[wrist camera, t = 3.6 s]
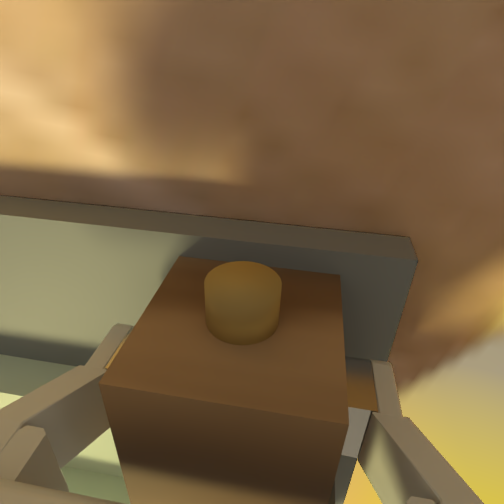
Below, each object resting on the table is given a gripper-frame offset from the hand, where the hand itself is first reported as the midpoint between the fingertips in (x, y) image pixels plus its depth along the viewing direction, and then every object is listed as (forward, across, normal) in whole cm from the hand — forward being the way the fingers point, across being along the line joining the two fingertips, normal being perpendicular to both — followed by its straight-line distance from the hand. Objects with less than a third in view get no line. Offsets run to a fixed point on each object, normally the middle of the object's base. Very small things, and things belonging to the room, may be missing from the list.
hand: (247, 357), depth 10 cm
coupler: (+1, 0, 0) cm, 1 cm away
